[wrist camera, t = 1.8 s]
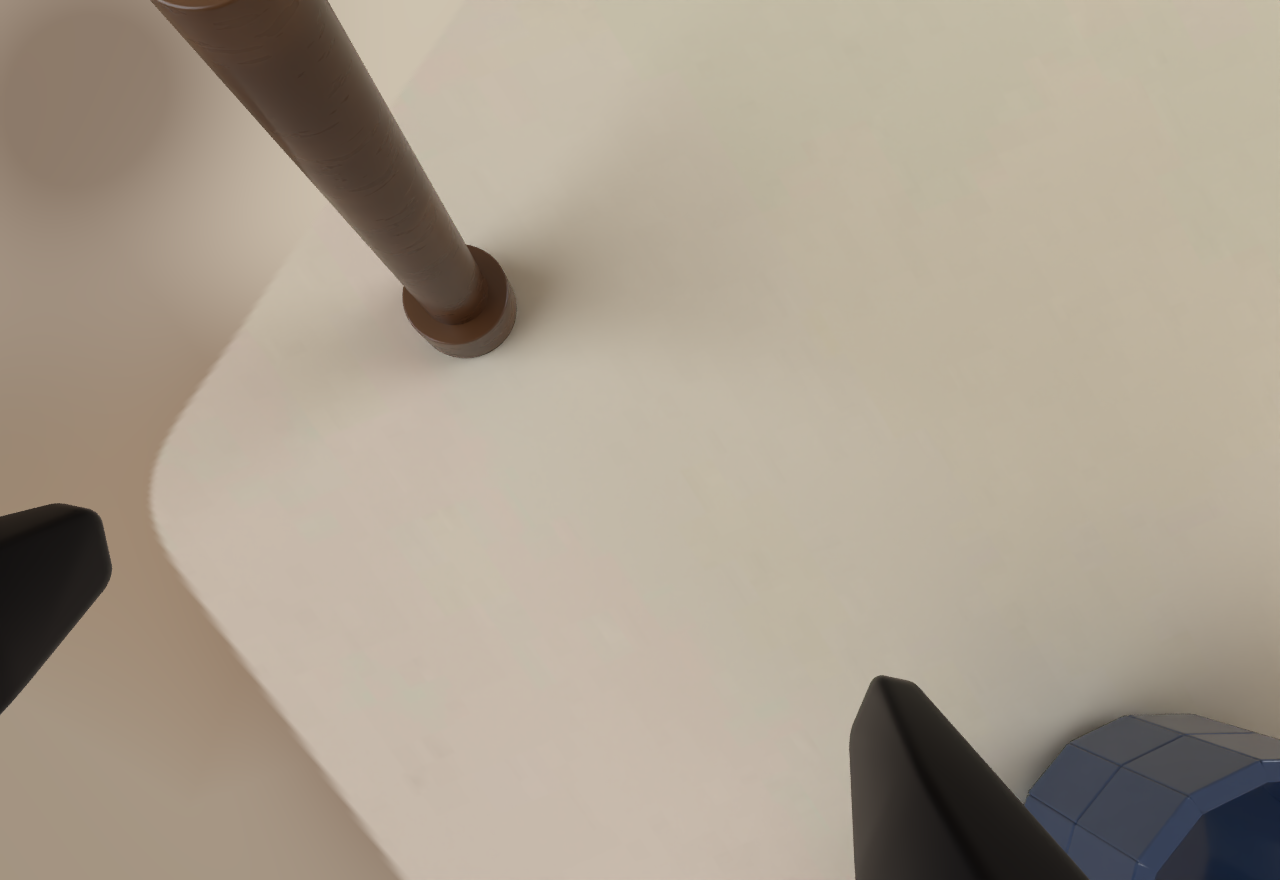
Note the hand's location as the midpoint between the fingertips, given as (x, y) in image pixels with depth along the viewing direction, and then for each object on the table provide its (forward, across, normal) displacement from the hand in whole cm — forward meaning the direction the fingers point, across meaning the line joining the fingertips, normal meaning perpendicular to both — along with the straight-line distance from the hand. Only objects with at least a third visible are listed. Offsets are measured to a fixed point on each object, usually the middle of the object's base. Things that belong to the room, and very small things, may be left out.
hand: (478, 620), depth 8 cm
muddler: (+15, +5, +2) cm, 16 cm away
